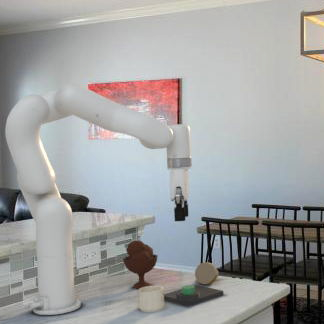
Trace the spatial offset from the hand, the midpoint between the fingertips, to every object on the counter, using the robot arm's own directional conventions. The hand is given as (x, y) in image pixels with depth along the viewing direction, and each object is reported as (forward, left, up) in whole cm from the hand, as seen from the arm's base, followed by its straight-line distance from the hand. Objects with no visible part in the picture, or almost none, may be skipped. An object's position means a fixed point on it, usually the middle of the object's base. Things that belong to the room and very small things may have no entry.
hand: (181, 218), depth 170 cm
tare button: (-10, -13, -19) cm, 26 cm away
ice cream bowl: (-7, +13, -22) cm, 26 cm away
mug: (+9, -1, -22) cm, 24 cm away
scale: (-6, -10, -22) cm, 25 cm away
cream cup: (-20, -9, -22) cm, 31 cm away
